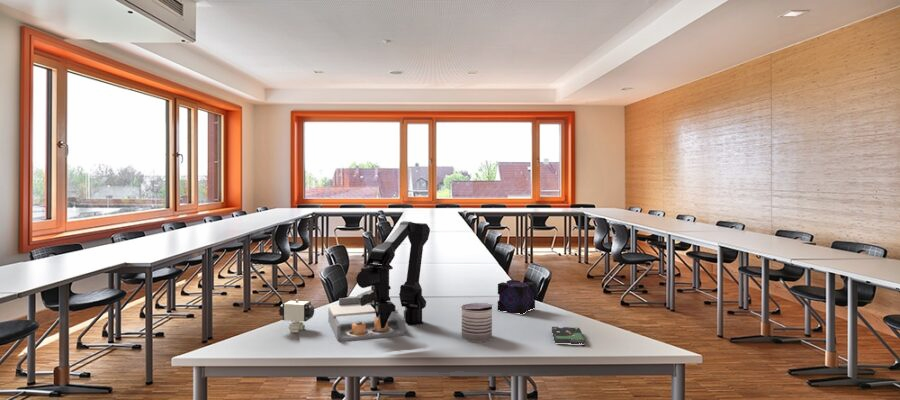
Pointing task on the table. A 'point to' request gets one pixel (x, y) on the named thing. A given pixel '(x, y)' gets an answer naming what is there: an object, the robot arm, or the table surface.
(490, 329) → the can
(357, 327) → the orange grey domed knob
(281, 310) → the pneumatic valve
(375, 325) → the orange grey rounded piece
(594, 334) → the table surface
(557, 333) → the disk drive
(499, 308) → the energy cube
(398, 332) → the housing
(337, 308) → the lid
